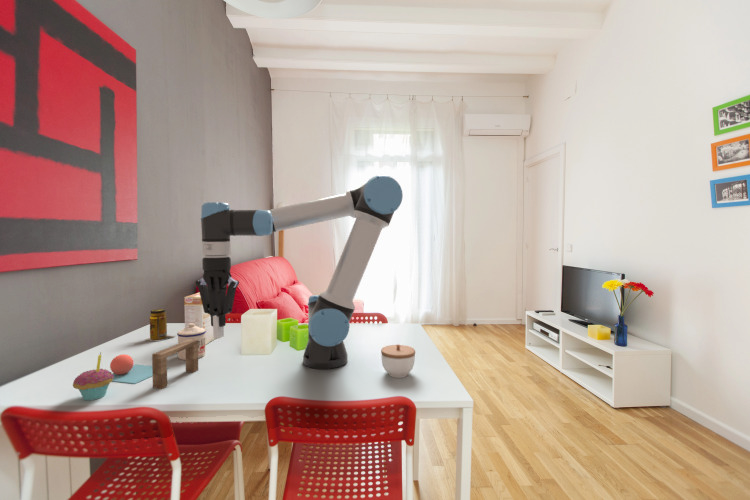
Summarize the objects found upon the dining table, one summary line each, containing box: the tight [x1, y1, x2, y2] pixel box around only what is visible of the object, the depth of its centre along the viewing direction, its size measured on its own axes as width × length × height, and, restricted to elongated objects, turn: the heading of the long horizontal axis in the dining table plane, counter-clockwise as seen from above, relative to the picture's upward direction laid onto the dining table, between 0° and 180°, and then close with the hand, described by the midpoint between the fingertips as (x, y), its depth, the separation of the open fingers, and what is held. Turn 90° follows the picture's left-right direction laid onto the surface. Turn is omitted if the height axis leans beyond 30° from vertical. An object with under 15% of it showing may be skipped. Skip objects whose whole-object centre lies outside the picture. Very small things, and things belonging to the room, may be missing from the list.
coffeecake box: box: [183, 292, 215, 346], centre depth 150 cm, size 15×7×20 cm, turn 178°
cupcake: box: [72, 352, 114, 401], centre depth 99 cm, size 9×8×12 cm
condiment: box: [146, 308, 176, 342], centre depth 154 cm, size 7×8×12 cm
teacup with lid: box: [176, 323, 206, 361], centre depth 134 cm, size 12×9×12 cm
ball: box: [109, 353, 135, 375], centre depth 115 cm, size 6×6×6 cm
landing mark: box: [112, 364, 170, 385], centre depth 115 cm, size 13×13×1 cm
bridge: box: [151, 339, 199, 390], centre depth 112 cm, size 3×15×10 cm, turn 167°
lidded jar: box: [380, 343, 416, 379], centre depth 117 cm, size 11×11×9 cm
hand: (218, 337), depth 109 cm, fingers closed
